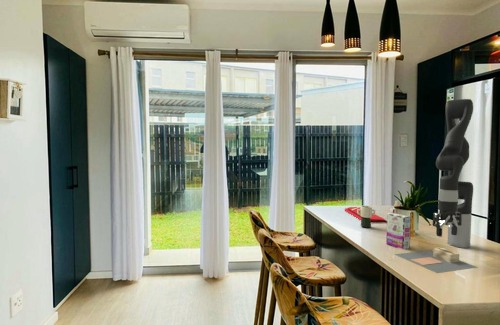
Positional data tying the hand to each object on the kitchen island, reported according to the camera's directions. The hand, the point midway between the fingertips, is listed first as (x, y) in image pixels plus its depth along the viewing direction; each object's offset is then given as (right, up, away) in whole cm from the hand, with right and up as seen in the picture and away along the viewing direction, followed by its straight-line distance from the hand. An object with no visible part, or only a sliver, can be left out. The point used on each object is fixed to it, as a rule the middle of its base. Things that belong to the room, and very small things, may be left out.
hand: (446, 235), depth 150 cm
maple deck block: (0, -11, +1) cm, 11 cm away
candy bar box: (-13, -10, +21) cm, 26 cm away
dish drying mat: (-5, -7, +93) cm, 93 cm away
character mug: (-15, -8, +61) cm, 63 cm away
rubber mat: (-7, -11, -1) cm, 13 cm away
